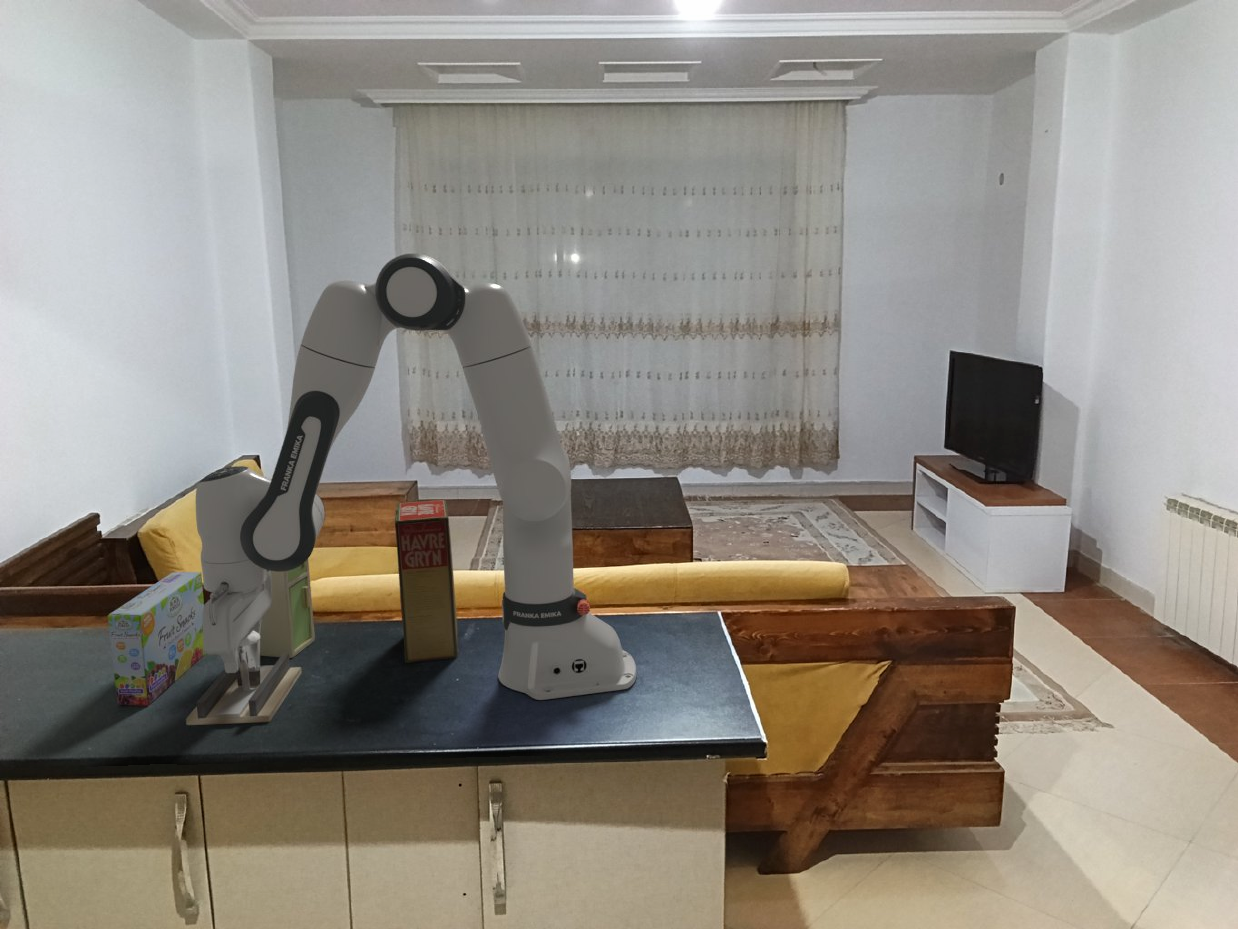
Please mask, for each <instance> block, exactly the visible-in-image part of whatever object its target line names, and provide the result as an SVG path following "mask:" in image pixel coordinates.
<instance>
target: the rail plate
mask: <svg viewBox="0 0 1238 929" xmlns="http://www.w3.org/2000/svg"><path fill="white" fill-rule="evenodd" d="M290 659H291V658H289V653H287V654H282V655H281V657H278V660H277V661H276V662H275V663H274V665H260V686H259V687H258V688H257V689H255V690H252V691H240V690H239V687H238V682H237V677H236V673H226V672H225V669H224V670H223V671H222V672H221V673H220V674H219V675H218V677H216V679H215V680H214V681H213V683H212V684H211V685H210V686H209V687H208V688H207V689H206V691H204V693H203V694H202V695H201V697H200V698H199V699H198V700H197V701H196V703H195V704H196V706H195V707H194V709H193V710H192V711H191V712H190V714H189V715H188V716H187V717H186V718H185V722H186V726H197V725H203V726H204V725H223V724H224V725H225V724H226V725H227V724H245V723H250V724H251V723H270V722H271V721H272V719H273V717H274V716H275V714H276V713H277V711H278V710H279V708H280V706H281V705H282V703H283V702H284V701H285V699H286V697H287V696H288V694H289V693H290V691H291V690H292V688H293V687H294V685H295V684H296V682H297V681H298V679H299V678H300V676H301V675H302V667H301V666H299V667H298V666H295V667H294V666H293V667H291V660H290Z"/></svg>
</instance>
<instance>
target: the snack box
mask: <svg viewBox="0 0 1238 929" xmlns="http://www.w3.org/2000/svg"><path fill="white" fill-rule="evenodd" d="M203 588H204V587H203V574H202V571H197V572H196V571H195V572H194V571H189V572H188V571H178V572H177V571H175V572H170V574H168V575H167V576H165V577H163V578H162V579H160V580H159V581H158V582H156V583H154V584H153V585H151V586H150V587H148V588H147V589H146V590H144V591H141V593H139V594H138V595H136V596H135V597H133V598H132V599H130V600H129V601H127V602H126V603H124V604H123V605H121V606H120V607H118V608H116V609H115V610H114V611H112V612H110V613H109V614H108V615H107V620H108V629H109V631H108V632H109V637H110V647H111V658H112V666H113V673H114V674H113V676H114V683H115V684H114V685H115V694H116V695H115V696H116V702H117V704H116V705H117V706H138V707H140V706H141V707H142V706H143V707H145V706H150V705H151V704H152V703H153V702H155V700H156V699H158V698H159V697H160V696H161V695H162V694H163V693H164V692H165V691H166V690H167V689H169V687H171V686H172V685H173V684H174V683H175V682H176V681H177V680H179V679H180V677H182V676H183V675H184V674H185V673H187V671H188V670H190V669H191V668H192V667H193V666H194V665H196V663H197V662H199V661H200V660H201V659H202V658H203V657H204V656H205V655H207V653H206V651H205V649H204V643H203V625H202V614H203V608H204V605H205V603H204V602H205V601H204V592H203Z"/></svg>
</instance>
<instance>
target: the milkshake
mask: <svg viewBox="0 0 1238 929" xmlns="http://www.w3.org/2000/svg"><path fill="white" fill-rule="evenodd" d="M236 648H237V650H236V651H235V653H236V656H237V658H239V659H240V668H239V669H238V671H237V672H236V677H237V682H238V687H239V690H240V691H252V690H255V689H257V688H258V687H259V686H260V666H261V656H260V634H259V633H257V632H255V631H254V630H250V631H249V632H248V633H247V634H246V635H245V637H244V638H243V639H242V640H241V641H240V642H239V644H238V645H237V646H236Z"/></svg>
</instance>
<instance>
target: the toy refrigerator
mask: <svg viewBox="0 0 1238 929" xmlns="http://www.w3.org/2000/svg"><path fill="white" fill-rule="evenodd" d="M309 564H310V562H309V558H308V559H307V560H306V561H305V562H304V563H303V564H302V565H300V566H299V567H297V568H295V569H292V570H289V571H282V572H276V571H270V572H271V582H272V600H271V606H270V608H269V609H268V610H267V611H266V613H265V614H264V615H263V616H262V617H261V618H262V623H261V630H260V657H274V658H280V657H281V655H282V654H287V653H289V659H292V658H294V657H295V656H297V655H298V654H299V653H301V652H302V651H303V650H304V649H306V648H307V647H308V646H310V645H312V643H314V642H315V639H316V634H315V625H314V622H315V621H314V612H313V603H312V602H313V601H312V590H311V589H312V587H311V577H310V576H311V575H310V565H309Z"/></svg>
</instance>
